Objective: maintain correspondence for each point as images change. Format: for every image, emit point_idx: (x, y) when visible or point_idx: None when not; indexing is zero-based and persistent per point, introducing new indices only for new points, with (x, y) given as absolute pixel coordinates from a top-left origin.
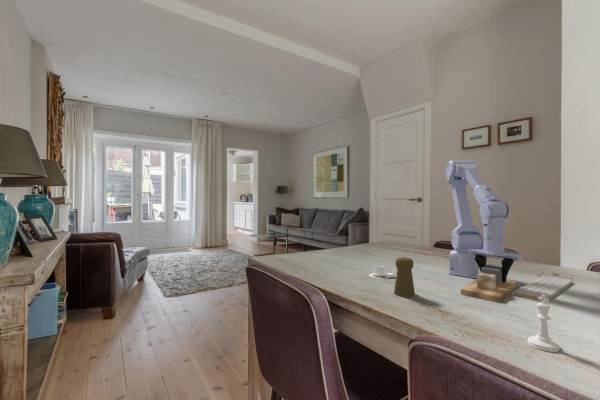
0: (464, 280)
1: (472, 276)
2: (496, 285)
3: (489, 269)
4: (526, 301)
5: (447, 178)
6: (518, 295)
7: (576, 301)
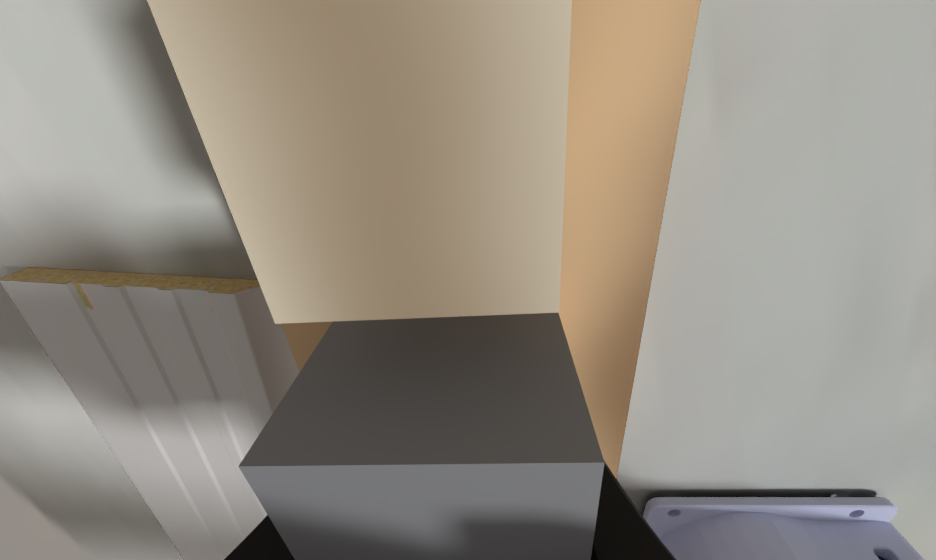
0: (731, 407)
1: (681, 510)
2: None
3: (426, 462)
4: (70, 138)
5: None
6: (224, 278)
7: (5, 413)
